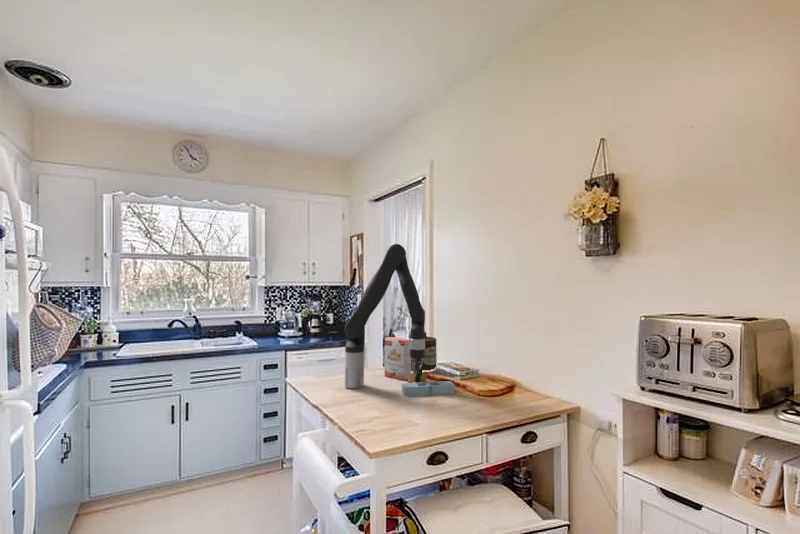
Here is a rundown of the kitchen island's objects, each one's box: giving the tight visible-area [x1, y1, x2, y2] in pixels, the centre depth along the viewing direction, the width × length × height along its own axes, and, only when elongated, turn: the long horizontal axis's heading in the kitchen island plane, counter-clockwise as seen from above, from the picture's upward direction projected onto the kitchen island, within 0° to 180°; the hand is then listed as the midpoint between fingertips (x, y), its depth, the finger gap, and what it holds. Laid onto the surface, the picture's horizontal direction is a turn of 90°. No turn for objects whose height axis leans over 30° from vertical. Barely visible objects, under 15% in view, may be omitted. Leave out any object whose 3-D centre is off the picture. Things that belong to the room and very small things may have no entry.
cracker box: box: [384, 336, 412, 381], centre depth 226 cm, size 14×6×21 cm, turn 50°
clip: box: [407, 372, 427, 383], centre depth 208 cm, size 8×3×6 cm, turn 101°
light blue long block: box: [401, 380, 456, 397], centre depth 199 cm, size 24×7×4 cm, turn 102°
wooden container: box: [411, 331, 438, 372], centre depth 243 cm, size 15×15×22 cm
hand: (416, 382), depth 208 cm, fingers closed on clip, 3 cm apart
